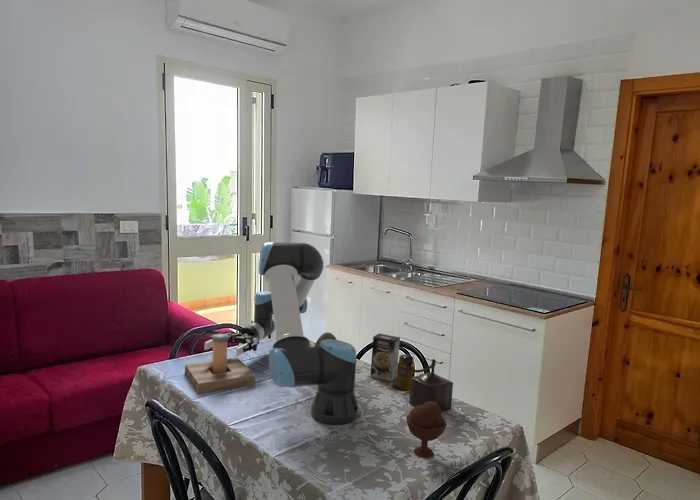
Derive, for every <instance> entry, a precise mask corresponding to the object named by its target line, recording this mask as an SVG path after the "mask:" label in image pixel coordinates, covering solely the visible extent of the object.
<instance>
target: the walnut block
mask: <svg viewBox="0 0 700 500" xmlns="http://www.w3.org/2000/svg"><path fill="white" fill-rule="evenodd" d="M238 357H239V356H237V357H232V358H231V357H230V358H227V371H226V372H224V373H217V374H212V365H213V360H208V361H199V362H192V363H185V364H184V373H185V375H186V377H187V379H188V381H189V382H190V383H191V384H192V386H193V388H194V389H195V391H196V392H198V393H197V394H202V393H203V394H204V393H210V392H211V393H212V392H216V391H222V390H223V391H224V390H227V389H233V388H234V389H236V388H241V387H247V386H255V384H256V374H255V373H254V372H253V371H252V370H251V369H250V368H248V366H247V365H246V364H245V363H244V362H243V361H242V360H241V359H240V358H238Z"/></svg>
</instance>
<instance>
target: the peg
mask: <svg viewBox="0 0 700 500" xmlns="http://www.w3.org/2000/svg"><path fill="white" fill-rule="evenodd" d="M211 336H212V340H213V347H212V361H213V365H212V374H217V373H224V372H226V371H227V359H228V343H227V340H228V339H229V335H227V334H226V333H215V334H212V335H211Z"/></svg>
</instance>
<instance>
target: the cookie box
mask: <svg viewBox="0 0 700 500" xmlns="http://www.w3.org/2000/svg"><path fill="white" fill-rule="evenodd" d="M400 342H401V337H399V336H393V335H389V334H384V333H377V334H375V335H374V336H372V347H371V349H372V351H371V364H370V378H374V379H379V380H384V381H386V382H393V381H395V379H397V367H398V363H399V356H400V355H399V352H400V351H399V350H400Z"/></svg>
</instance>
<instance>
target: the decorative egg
mask: <svg viewBox="0 0 700 500" xmlns="http://www.w3.org/2000/svg"><path fill="white" fill-rule="evenodd" d="M325 339H333V340H338V339H337V337H336V336H335V335H334V334H333V333H332V332H330V331H329V332H324V333H322V334H321V335H320V336H319V337H318V339H317V340H316V342H315V344H314V346H313V347H315V346H319V344H320V342H321V341H322V340H325Z"/></svg>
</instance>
